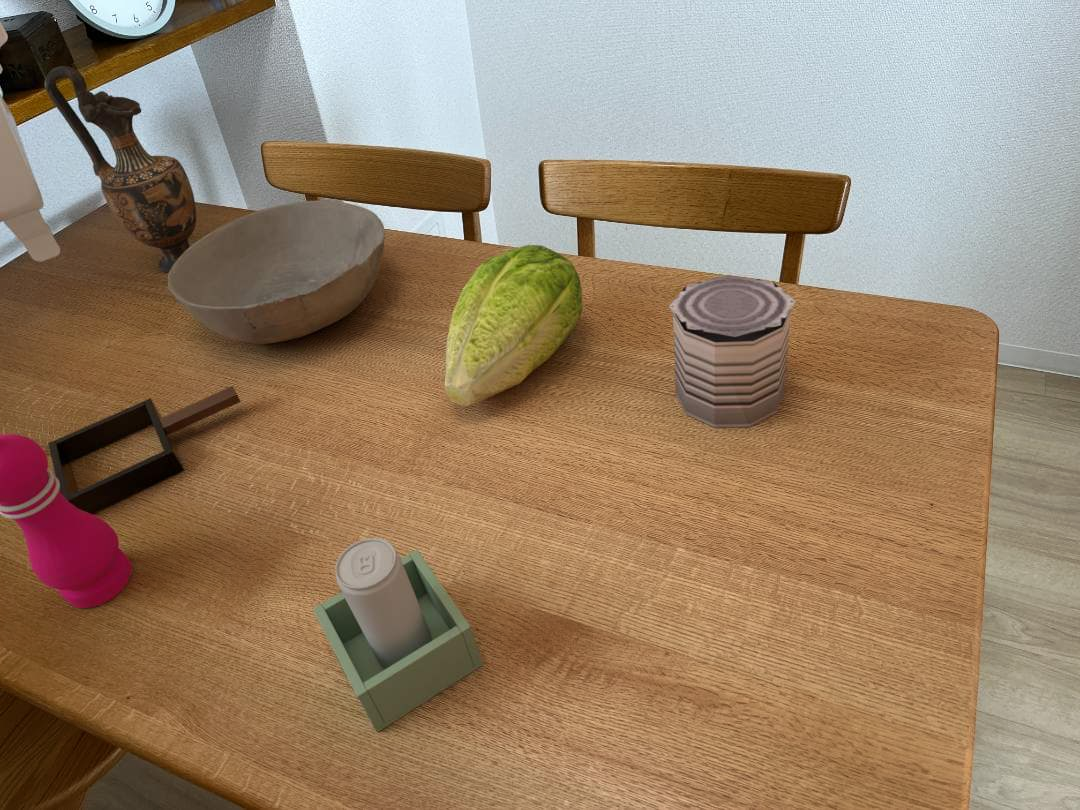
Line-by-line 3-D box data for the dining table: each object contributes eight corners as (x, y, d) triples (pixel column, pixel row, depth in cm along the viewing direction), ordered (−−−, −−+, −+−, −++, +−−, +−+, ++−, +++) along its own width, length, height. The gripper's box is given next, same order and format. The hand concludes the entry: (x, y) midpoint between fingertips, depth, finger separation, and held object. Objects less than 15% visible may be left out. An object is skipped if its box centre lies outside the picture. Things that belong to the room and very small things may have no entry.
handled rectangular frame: (76, 522, 85) (61, 503, 83) (61, 461, 93) (47, 443, 91) (259, 434, 91) (249, 415, 89) (230, 385, 99) (221, 366, 97)
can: (660, 417, 84) (655, 324, 77) (693, 352, 92) (691, 261, 84) (770, 439, 80) (777, 343, 72) (795, 369, 87) (804, 274, 79)
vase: (207, 274, 121) (110, 72, 102) (128, 285, 122) (17, 86, 103) (228, 235, 130) (142, 42, 110) (154, 245, 131) (57, 56, 111)
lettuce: (382, 367, 88) (450, 340, 77) (485, 245, 100) (555, 207, 89) (461, 447, 93) (534, 431, 82) (550, 321, 104) (624, 294, 94)
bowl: (299, 395, 96) (269, 327, 89) (155, 343, 109) (120, 280, 102) (437, 275, 112) (421, 210, 105) (298, 242, 125) (275, 182, 118)
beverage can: (432, 620, 69) (396, 530, 61) (436, 670, 65) (398, 581, 57) (376, 633, 69) (333, 544, 61) (377, 683, 65) (332, 596, 57)
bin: (377, 732, 62) (357, 696, 59) (332, 645, 69) (312, 608, 65) (483, 664, 66) (470, 626, 62) (431, 587, 72) (417, 548, 68)
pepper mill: (91, 548, 81) (-27, 401, 68) (152, 554, 80) (43, 404, 67) (45, 609, 76) (-92, 462, 63) (109, 617, 75) (-18, 467, 61)
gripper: (-135, 15, 55) (-16, 198, 64) (-148, 84, 41) (6, 306, 50) (-36, -11, 57) (65, 171, 66) (-17, 47, 43) (108, 267, 52)
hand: (40, 230), depth 58 cm, fingers open, 8 cm apart
